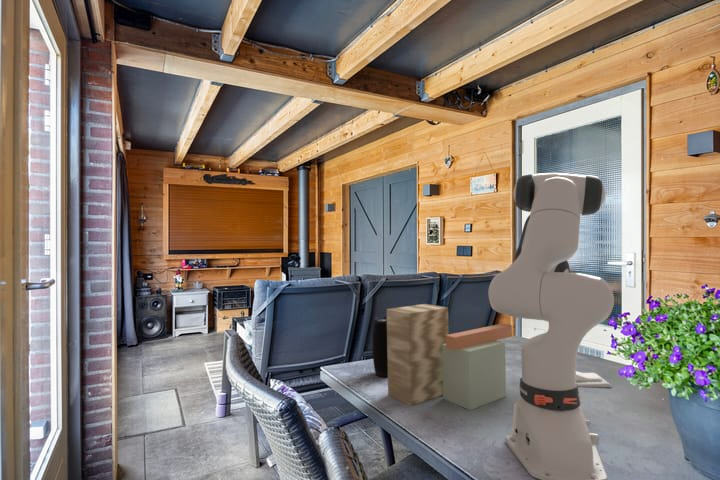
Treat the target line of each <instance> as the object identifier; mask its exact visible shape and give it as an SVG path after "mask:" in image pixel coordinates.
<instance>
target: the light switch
mask: <svg viewBox="0 0 720 480" xmlns="http://www.w3.org/2000/svg"><path fill="white" fill-rule="evenodd" d="M576 384H577V386H578V387H579V386H580V387H581V388H582V387H583V388H585V387H586V388H612V384H611V383H609V382H608V381H607V380H605V379H604V378H603V377H602V376H600V375H599V374H598V373H596V372H581V371H577V370H576Z"/></svg>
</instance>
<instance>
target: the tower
mask: <svg viewBox="0 0 720 480" xmlns="http://www.w3.org/2000/svg"><path fill="white" fill-rule="evenodd" d="M386 317H387V357H388V375H387V395H388V396H389V397H391V398H394V399H396V400H398V401H400V402H402V403H405V404H406V405H408V406H413V405H416V404H420V403H423V402H427V401H428V400H431V399H435V398H438V397H441V396H443V366H442V344H445V343H446V336H445V335H449V308H448V306H447V307H446V306H441V305H435V304H428V303H422V304H416V305H408V306H400V307H392V308H386Z"/></svg>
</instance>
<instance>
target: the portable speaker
mask: <svg viewBox="0 0 720 480" xmlns="http://www.w3.org/2000/svg"><path fill="white" fill-rule="evenodd" d="M373 322H374V323H373V328H372V334H371V335H372V342H371V343H372V347H371V348H372V349H371V350H372V353H371V354H372V360H373V366H374V373H375V375H376V377H379V378H386V377H387V376H388V357H387V316H383V317H374V319H373Z"/></svg>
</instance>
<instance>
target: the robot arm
mask: <svg viewBox="0 0 720 480" xmlns="http://www.w3.org/2000/svg"><path fill="white" fill-rule="evenodd" d="M512 193H513V195H512V197H513V200H514V201H513V202H514V203H515V207H517V208H518V210H520V211H524V212H526V213H527V212H528V213H530V214H529V215H528V216H527V217H526V220H525V222H524V225H523V228H522V232H521V235H520V239H519V244H518V245H517V246H518V247H517V249H516V251H515V254H514V261H513V262H512V263H511V265H509V266H508V267H507V268H506V269H504V270H503V271H500V272H499V273H497V274H496V275H495V276H494V277H493V278H492V280H491V281H490V282H489V283H490V284H489V287H488V290H487V291H488V300H489V304H490V307H491V308H492V310H494V311H495V312H497V313H499V314H501V315H502V314H503V315H506V316H508V317H512V318H517V319H524V320H525V319H526V320H535V321H536V320H537V321H545V322H547V323H548V329H547V332H544V333H540V334H537V335H535V336H532V337H530V338H528V339H527V340H526V341H525V342H524V343H523V345H522V347H521V351H520V353H521V358H520V359H521V377H520V379H519V384H518V385H519V394H520V395H519V396H520V398H519V399H518V400H517V401H516V402H515V403H514V404H513V409H512V410H513V411H512V413H513V414H512V416H513V417H512V433H511V434H507V435H505V441H504V442H505V443H506V444H507V446H508V447H509V448H510V450H511V451H512V452H513V454H514V455H515V457H516V458H517V459H518V461H519V462H520V463H521V464H522V466H523V467H524V468H525V470H526V471H527V472H528V473H529V475H531V477H533V478H535V479H537V480H608V475H607V472H606V470H605V467H604V465H603V462H602V460H601V457H600V454H599V452H598V449H597V446H599V443H600V442H599V435H598V433H593V432H589V429H588V428H589V427H591V420H589V419H586V418H585V414H584V408H583V407H582V406H581V401H580V400H581V399H580V398H581V397H580V391H579V386H577V384H576V371H577V356H578V350H579V347H580V344H581V342H582V341H583V340H584V337H585V336H586V335H587V334H588V333H589V332H590V331H591V330H592V329H594V328H595V327H596V326H598V325H600V324H601V323H603V322H604V321H606V320H607V319H608V318H609V316H610V315H611V313H612V311H613V308H614V307H615V306H614V304H615V298H614V297H615V296H614V292H613V290H612V288H611V286H610V285H609V283H608V282H607V281H606V280H605V279H604V278H602V277H599V276H595V275H591V274H587V273H582V272H571V271H570V270H571V268H570V264H569V261H568V260H569V259H571V258H572V257H573V256H574V255H575V254H576V252H577V251H578V249H579V240H580V239H579V237H580V224H581V216H589V215H594V214H596V213H597V212H599V211H600V208H601V207H602V206H603V204H604V202H605V199H606V198H605V197H606V191H605V186H604V184H603V180H602V179H601V178H599V177H598V176H596V175H590V174H585V175H582V174H573V173H559V172H546V173H545V172H544V173H535V174H534V173H527V174H522V175H521V176H519V178H517V181H516V183H515V185H514V187H513V192H512Z"/></svg>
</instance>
